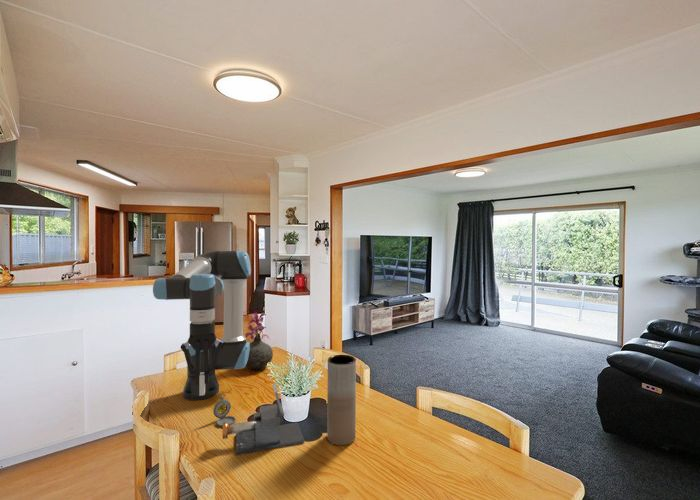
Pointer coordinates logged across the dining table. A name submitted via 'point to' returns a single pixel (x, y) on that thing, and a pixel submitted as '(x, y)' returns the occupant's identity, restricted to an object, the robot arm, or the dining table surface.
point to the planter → (341, 399)
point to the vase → (258, 346)
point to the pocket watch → (223, 412)
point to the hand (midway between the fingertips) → (202, 393)
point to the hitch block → (268, 433)
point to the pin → (238, 428)
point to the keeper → (278, 401)
